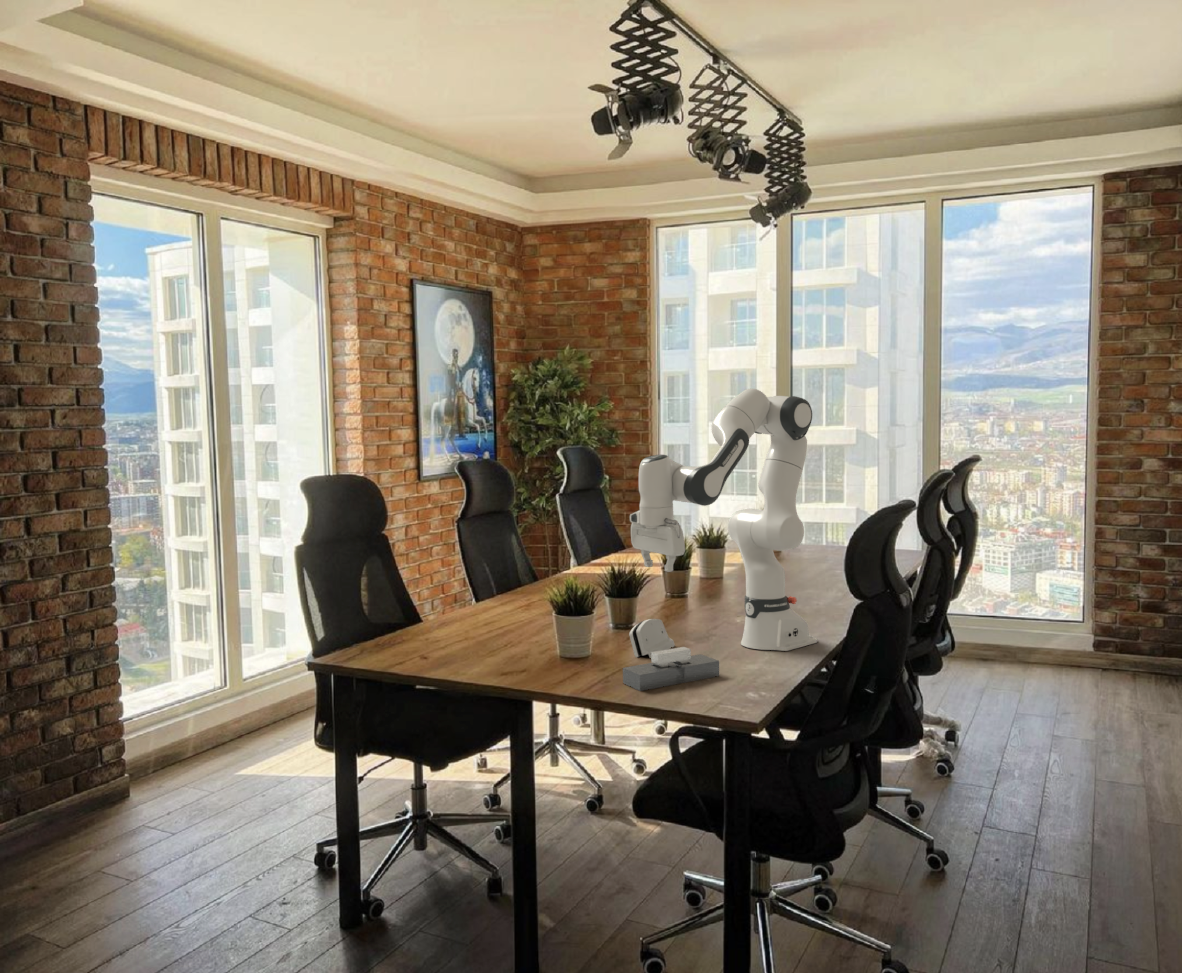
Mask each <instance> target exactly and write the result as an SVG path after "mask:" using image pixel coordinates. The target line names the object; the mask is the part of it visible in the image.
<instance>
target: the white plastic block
mask: <svg viewBox="0 0 1182 973" xmlns="http://www.w3.org/2000/svg"><path fill="white" fill-rule="evenodd" d="M628 636H629V639H630V643H631V647H632V650H633V654H634V657H635V658H639V657H641V656H646V655H648V657H649V659H650V658H651V652H656V651H662V650H668V649H672V648H675V646H676V644H675V642H674V640H673V639H672V638H670V637H669V635H668V632H667V630H666V628H665V625H664V623H663V620H662V619H659V618H649V619H645V620H642V621H640V622H638V623H636V625H634V626H633V627H632V628H631V630H630V631H629V634H628ZM671 647H672V648H671Z"/></svg>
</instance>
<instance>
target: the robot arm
mask: <svg viewBox="0 0 1182 973" xmlns="http://www.w3.org/2000/svg"><path fill="white" fill-rule="evenodd" d="M812 420H813V410H812V407H811V404H810V402H808V400H807V399H805V398H803V397H800V396H795V395H791V396H787V395H773V396H767V395H766V394H765V393H764V392H763V391H761V390H759V389H758V388H746V389H744V390H743V391H741V392H740V393H738V394H737V395H735V397H733V398H731V400H729V402H728V403H726V404H725V406H723V408H722V409H721V410H720V411H719V412H718V413H717V414H716V415H715V417H714V419H713V421H712V422H711V433H712V437H713V439H714V441H716V443H717V444H718V445H719V446H720V447H719V449H718V450H717V452H716V453H715V454H714V456H713V457H712V459H711V460H710V461H709V462H708V463H705V464H704V465H699V466H691V465H689V466H688V465H683V464H680V463H679V462H676V461H674V460H673V459H671V458H670V457H669V456H668V455H667V454H656V455H655V454H654V455H649V456H646V457H645V458H643V459H642V460H641V462H640V464H639V467H638V468H639V469H638V493H639V496H640V500H639V510H637V511H635V512H632V513H630V514H629V522H630V523H631V525H630V543H631V545H632V547H633V549H637V550H640V552H641V553H640V555H641V556H642V557H641V558H642V559H643V564H644V567H647V568H652V567H653V565H654V564H653V563H654V560H652V558H651V555H650V553H656V554H660V555H665V559H666V562H665V563H666V564H664V566H663V568H664V571H665V572H668V573H669V572H670V573H671V572H673V571H674V564H675V561H676V560H677V557H680V556H683V555H684V554H685V552H686V544H685V537H684V536H685V535H684V532H683V529H682V525H681V524H680V523H679V521H678V520H676V519H674V518H675V517H674V501H675V502H681V503H692V504H695V505H698V506H702V507H705V506H706V507H707V506H709V505H712V504H713V503H715V502H716V501H717V500H718V498H720V495H721V494H722V491H723V488H724V486H725V484H726V481H727V480H728V478H729V476H730V475H731V474H732V473H733V471H734V470H735V468H736V466H737V465H738V464H739V462H740V461H741V459H742V458H743V457H744V455H745V453H746V452H747V449H748V447H749V445H750V444H749V443H750V439H751V437H752V436H753V435H754V434H758V435H761V434H762V435H769V436H770V446H769V448H768V451H767V454H766V457H765V460H764V462H763V466H762V469H761V473H760V476H759V480H758V485H757V486H758V489H759V491H760V493H761V494H762V495H763V498H764V505H763V509H759V508H746V509H739V510H736V511H735V512H733V513H732V514H731V515H730V517H729V520H728V522H727V530H728V531H727V532H728V534H729V537H730V538H731V540H732V541H734V543H735V544H736V546H737V548H738V550H739V553H740V555H741V558H742V562H743V566H744V573H745V595H744V611H745V618H744V628H743V632H742V633H743V634H742V639H741V641H740V645H741V646H743V647H746V648H748V649H754V650H762V651H770V650H771V651H782V652H784V651H785V652H788V651H791V650H795V649H799V648H802V647H805V646H808V645H809V646H810V645H813V644H816V643H818V639H817V638H818V637H817V638H816V636H813V635H811V634H810V631H809V630H810V628H809V624H808V622H807V621H806V619H804V618H803V617H802V616H801V615H800V614H798V613H797V612H795V611H794V609H792V608H791V605H790V604H792V605H796V603H797V601H798V599H797V597H795V596H791V595H790V596H787V595H786V573H785V572H786V571H785V568H784V566H783V565H782V564H781V563H780V562H779V560H778V559H777V558H776V555H775V553H774V551H779V552H780V551H789V550H794V549H796V548H798V547H799V546H800V545H801V544H802V542H803V539H804V536H805V527H804V524H803V521H802V520H801V519H800V517H799V515H798V512H797V504H796V503H797V501H796V500H797V493H798V489H799V484H800V481H801V478H802V475H803V474H802V473H803V470H804V466H805V462H806V457H807V456H806V455H807V450H808V440H807V436H806V435H807V433H808V431H809V429H810V427H811V425H812Z"/></svg>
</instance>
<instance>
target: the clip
mask: <svg viewBox="0 0 1182 973" xmlns="http://www.w3.org/2000/svg"><path fill="white" fill-rule="evenodd" d="M691 651H692V650H691V648H688V647H685V646H681V647H673V648H670V649H668V650H662V651H656V652H651V659H650V660H651V662H650V663H655V667H657V668H659V669H663V668H668V663H670V662H674V663H675V664H678V665H686V664H688V659H691V656H692V652H691Z"/></svg>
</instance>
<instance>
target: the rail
mask: <svg viewBox="0 0 1182 973" xmlns="http://www.w3.org/2000/svg"><path fill="white" fill-rule="evenodd" d="M715 676H717V677H719V676H720V660H718V659H716V658H712V657H709V656H707V655H705V654H704V655H703V654H695V655H691V659H688V664H686V665H678V664H675V663H674V662H670V663H668V668H663V669H659V668H657V667H655V663H653V662H649V663H644V664H637V665H632V666H626V667H622V684H623V683H624V684H623V685H625V684H626V686H628V687H630V686H631V687H630V688H632V689H634V690H637V691H640V692H642V691H647V690H648V689H649V690H653V689H657V688H658V689H659V688H663V686H664V687H668V686H669V687H670V686H674V685H680V684H683V683H684V684H685V683H690V682H695V681H700V679H701V680H705V679H706V680H707V679H710V678H716V677H715Z"/></svg>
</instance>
